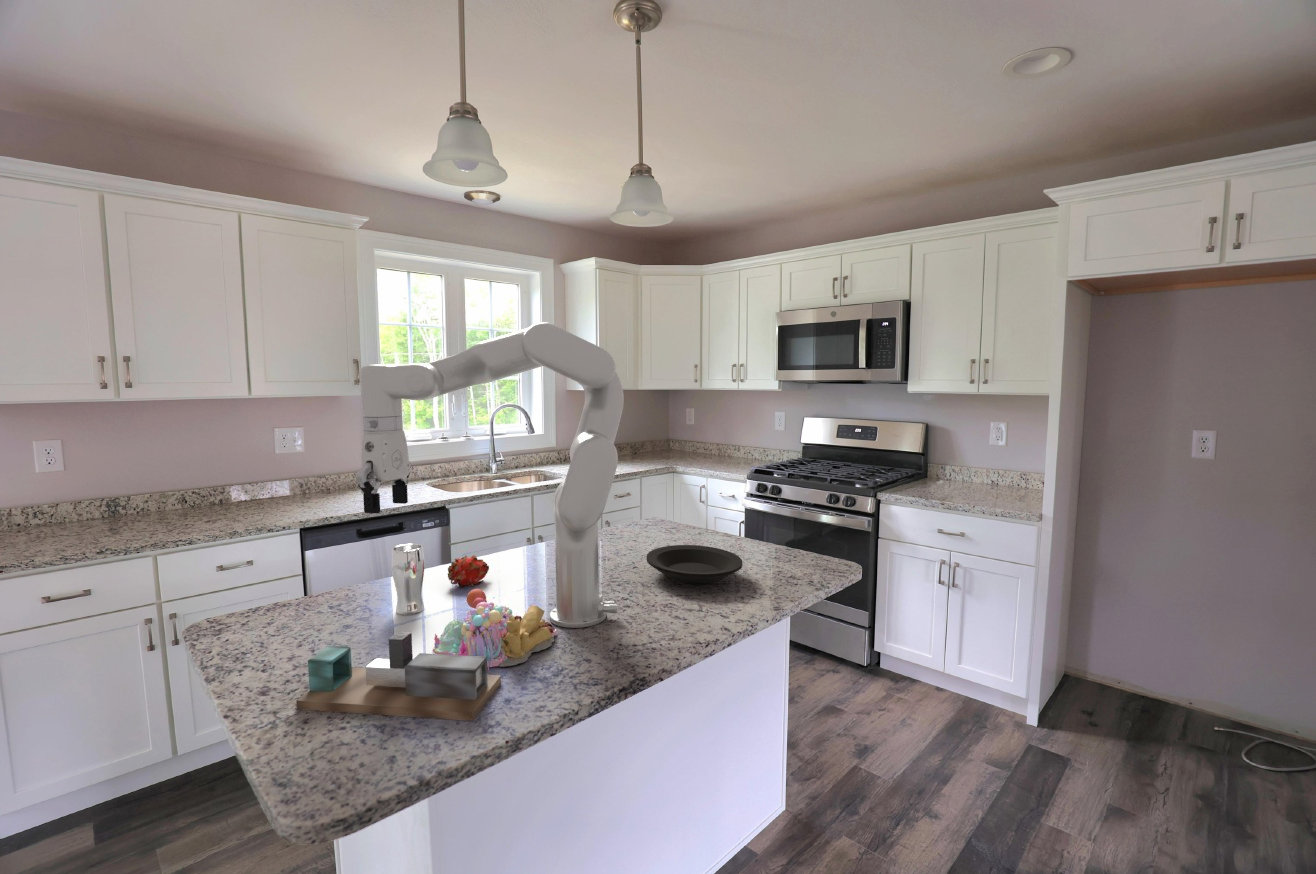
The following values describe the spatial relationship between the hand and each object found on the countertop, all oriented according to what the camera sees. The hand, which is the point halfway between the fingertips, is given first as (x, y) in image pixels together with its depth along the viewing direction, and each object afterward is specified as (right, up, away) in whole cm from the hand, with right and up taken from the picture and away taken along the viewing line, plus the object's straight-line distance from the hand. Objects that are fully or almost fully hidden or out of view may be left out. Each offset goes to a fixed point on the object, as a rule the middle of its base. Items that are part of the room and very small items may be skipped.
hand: (386, 507), depth 128 cm
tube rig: (+13, -29, -23) cm, 39 cm away
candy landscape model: (+23, -28, -2) cm, 36 cm away
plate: (+66, -24, +38) cm, 79 cm away
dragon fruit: (+7, -24, +34) cm, 42 cm away
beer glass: (-2, -26, +16) cm, 31 cm away
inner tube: (+17, -27, -24) cm, 40 cm away
